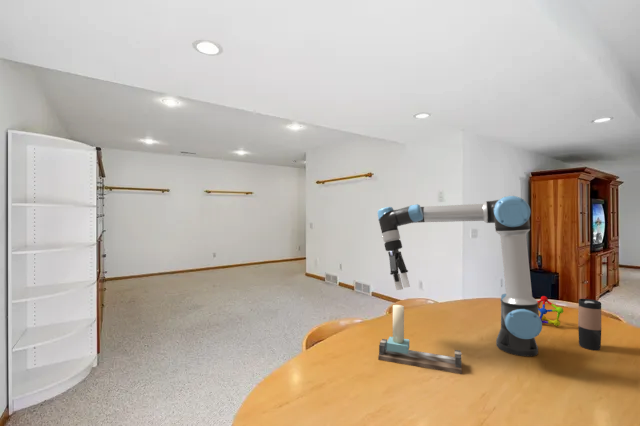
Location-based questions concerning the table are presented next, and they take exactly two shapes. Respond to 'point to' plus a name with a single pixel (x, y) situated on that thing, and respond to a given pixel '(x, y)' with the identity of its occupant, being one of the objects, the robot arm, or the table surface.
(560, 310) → the educational toy
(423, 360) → the rail board
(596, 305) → the travel mug
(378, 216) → the robot arm
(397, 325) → the carriage
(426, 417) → the table surface
